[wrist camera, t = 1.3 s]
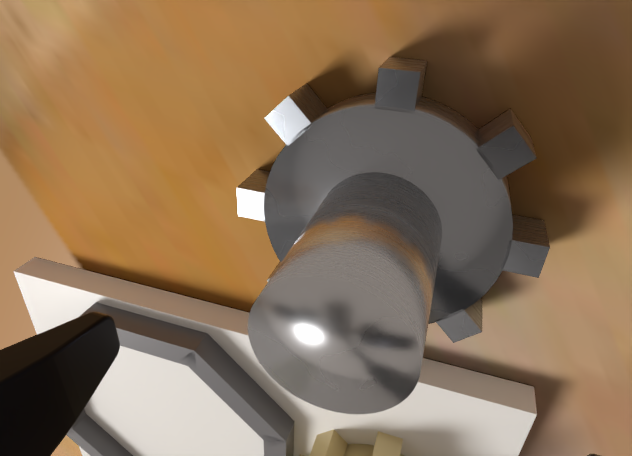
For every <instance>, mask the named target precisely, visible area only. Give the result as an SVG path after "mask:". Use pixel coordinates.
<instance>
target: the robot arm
mask: <svg viewBox="0 0 632 456" xmlns="http://www.w3.org/2000/svg"><path fill="white" fill-rule="evenodd" d="M119 349H120V341H119V337H118V333H117V329H116V325H115V321H114V319H113V318H112V317H111V316H110V315H107V314H103V313H100V312H90V313H87V314H85V315H83V316H80V317H78V318H75V319H73V320H71V321H68V322H66V323H64V324H61V325H59V326H56V327H54V328H52V329H49V330H47V331H45V332H42V333H40V334H37V335H35V336H33V337H30V338H28V339H25V340H23V341H21V342H18V343H16V344H14V345H11V346H9V347H6V348H4V349H2V350H0V456H51V454H52V453H53V452H54V450H55V449H56V448H57V446H58V445H59V444H60V442H61V441H62V440H63V438H64V437H65V436H66V434H67V433H68V432H69V430H70V429H71V428H72V426H73V425H74V423H75V422H76V421H77V419H78V418H79V416H80V414H81V413H82V411H83V410H84V408H85V407H86V405H87V404H88V402H89V400H90V399H91V397H92V395H93V394H94V392H95V391H96V389H97V387H98V386H99V384H100V383H101V381H102V379H103V378H104V376H105V374H106V373H107V371H108V370H109V368H110V366H111V365H112V363H113V362H114V360H115V358H116V357H117V355H118V352H119ZM587 456H600V455H596V454H589V455H587Z"/></svg>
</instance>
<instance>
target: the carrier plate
mask: <svg viewBox="0 0 632 456" xmlns="http://www.w3.org/2000/svg"><path fill="white" fill-rule="evenodd" d="M14 274H15V277H16V279H17V282H18V285H19V287H20V290H21V292H22V295H23V298H24V301H25V303H26V306H27V309H28V311H29V314H30V316H31V319H32V322H33V325H34V327H35V330H36V333H37V334H40V333H42V332H45V331H47V330H49V329H52V328H54V327H56V326H59V325H61V324H64V323H66V322H68V321H71V320H73V319H75V318H78V317H80V316H83V315H85V314H87V313H90V312H100V313H103V314H107V315H110V316H111V317H112V318H113V319H114V321H115V325H116V329H117V333H118V337H119V341H120V349H119V352H118V355H117V357H116V358H115V360H114V362H113V363H112V365H111V366H110V368H109V370H108V371H107V373H106V374H105V376H104V378H103V379H102V381H101V383H100V384H99V386H98V387H97V389H96V391H95V392H94V394H93V395H92V397H91V399H90V400H89V402H88V404H87V405H86V407H85V408H84V410H83V411H82V413H81V414H80V416H79V418H78V419H77V421H76V422H75V423H74V425H73V426H72V428H71V429H70V430H69V432H68V433H67V434H66V435H67V436H68V437H69V438H71V439H72V440H73V441H74V442H75V443H76V444H77V445H79V448H80V450H81V453H82V456H518V455H519V453H520V451H521V449H522V446H523V444H524V442H525V440H526V438H527V435H528V433H529V431H530V429H531V427H532V424H533V422H534V420H535V418H536V416H537V410H536V401H535V392H534V387H533V386H529V385H525V384H521V383H517V382H514V381H510V380H506V379H502V378H498V377H494V376H491V375H487V374H483V373H479V372H475V371H471V370H467V369H464V368H460V367H456V366H452V365H448V364H444V363H441V362H437V361H433V360H429V359H425V358H423V360H422V366H421V372H420V377H419V380H418V383H417V385H416V387H415V388H414V390H413V392H412V393H411V394H410V395H409V396H408V397H407V398H406V399H405V400H404V401H402V402H401V403H400V404H398V405H396V406H394V407H392V408H390V409H387V410H385V411H381V412H377V413H371V414H345V413H339V412H334V411H330V410H326V409H323V408H320V407H317V406H314V405H312V404H310V403H308V402H305V401H303V400H302V399H300V398H298V397H296V396H294V395H293V394H291V393H290V392H288V391H287V390H286V389H284V388H283V387H282V386H280V385H279V384H278V383H277V382H276V381H275V380H274V379H273V378H272V377H271V376H270V375H269V374H268V373H267V372H266V371H265V369H264V368H263V367H262V365H261V364H260V363H259V361H258V359H257V357H256V356H255V354H254V352H253V349H252V347H251V344H250V340H249V336H248V318H249V312H245V311H241V310H237V309H233V308H229V307H226V306H222V305H218V304H214V303H210V302H206V301H203V300H199V299H195V298H191V297H187V296H183V295H180V294H176V293H172V292H168V291H164V290H160V289H156V288H153V287H149V286H145V285H141V284H137V283H133V282H130V281H126V280H122V279H118V278H114V277H110V276H107V275H103V274H99V273H95V272H91V271H87V270H84V269H80V268H76V267H72V266H68V265H64V264H60V263H57V262H53V261H48V260H45V259H41V258H37V257H34V258H33V259H31V260H30V261H28V262H27V263H25V264H24V265H22V266H21V267H19V268H18V269H16V270H15V271H14Z"/></svg>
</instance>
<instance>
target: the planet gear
mask: <svg viewBox="0 0 632 456" xmlns="http://www.w3.org/2000/svg"><path fill="white" fill-rule="evenodd" d="M426 65H427V61H425V60H416V59H406V58H396V57H389V58H388V59H387V60H386V61H385V62H384V63H383V64H382V65H381V66H380V67H379V72H378V81H377V90H376V93H368V94H364V95H359V96H354V97H352V98H349V99H346V100H343V101H341V102H338V103H337V104H335V105H333V106H331V107H329V108H326V107H325V105H324V104H323V103H322V102H321V100H320V99H319V98H318V97H317V95H316V94H315V93H314V92H313V90H312V89H311V88H310V87H309V85H308V84H307V83H306V84H305V85H303V86H302V87H300V88H299V89H297V90H296V91H295V92H293V93H292V94H290V95H289V96H288V97H287V98H285V99H284V100H283V101H282V102H281V103H280V104H279V105H278V106H277V107H276V108H275V109H274V110H273V111H271V112H270V113H269V114H268V115H267V116H266V117H265V120H266V121H267V122H268V123H269V124H270V126H271V127H272V128H273V129H274V130H275V132H276V133H277V134H278V135H279V136H280V137H281V139H282V140H283V141H284V142H285V143H286V146H285V147H284V148H283V150H282V151H281V152H280V154H279V155H278V157H277V159H276V160H275V162H274V164H273V166H272V168H271V171H270V172H268V171H263V170H256V171H254V172H253V173H252V174H251V175H250V176H249V177H248V178H247V179H246V180H245V181H243V182H242V183H241V184H240V185H239V186H238V187H237V205H238V216H241V217H246V218H251V219H256V220H260V221H265V223H266V228H267V232H268V236H269V238H270V241H271V244H272V247H273V249H274V251H275V253H276V255H277V257H278V259H279V260H280V262H279V263H278V265H277V266H276V268H275V269H274V271H273V272H272V274H271V275H270V277H269V278H268V280H267V281H268V283H267V285H266V286H265V288H264V289H263V291H262V292H261V294H260V295H259V296H258V298H257V299H256V301H255V303H254V304H253V306H252V308H251V311H250V313H249V318H248V336H249V340H250V344H251V347H252V349H253V352H254V354H255V356H256V357H257V359H258V361H259V363H260V364H261V365H262V367H263V368H264V369H265V371H266V372H267V373H268V374H269V375H270V376H271V377H272V378H273V379H274V380H275V381H276V382H277V383H278V384H279V385H280V386H282V387H283V388H284V389H286V390H287V391H288V392H290V393H291V394H293V395H294V396H296V397H298V398H300V399H302V400H303V401H305V402H308V403H310V404H312V405H314V406H317V407H320V408H323V409H326V410H330V411H334V412H339V413H345V414H371V413H377V412H381V411H385V410H387V409H390V408H392V407H394V406H396V405H398V404H400V403H401V402H402V401H404V400H405V399H406V398H407V397H408V396H409V395H410V394H411V393H412V392H413V390H414V388H415V387H416V385H417V383H418V380H419V377H420V372H421V366H422V360H423V353H424V347H425V341H426V335H427V328H428V324H430V323H434V322H436V323H437V324H438V325H439V326H440V327H441V328H442V330H443V331H444V332H445V333H446V334H447V336H448V337H449V338H450V339H451V340H452V341H453V343H454V342H457V341H460V340H462V339H465V338H467V337H470V336H473V335H475V334H478V333H480V332H482V300H481V299H480V298H481V297H482V296H483V295H485V294H486V293H487V291H488V290H489V289H490V288H491V287H492V285H493V284H494V283H495V282H496V280H497V279H498V277H499V275H500V274H501V272H502V270H503V271H508V272H513V273H518V274H523V275H527V276H532V277H537V278H539V275H540V273H541V270H542V267H543V265H544V262H545V259H546V256H547V254H548V251H549V248H550V245H549V241H548V236H547V232H546V227H545V223H544V220H539V219H534V218H528V217H522V216H517V215H512V211H511V201H510V191H509V184H508V180H507V176H506V175H508V174H510V173H512V172H513V171H515V170H517V169H519V168H520V167H522V166H524V165H526V164H527V163H529V162H531V161H533V160H534V159H536V154H535V150H534V146H533V142H532V138H531V137H530V135H529V134H528V132H527V131H526V130H525V128H524V127H523V125H522V124H521V123H520V121H519V120H518V118H517V117H516V115H515V114H514V113H513V111H512V110H511V108H510V109H509V110H507V111H506V112H504V113H503V114H501V115H500V116H498V117H497V118H495V119H494V120H492V121H491V122H489V123H487V124H486V125H484V126H483V127H481V128H480V129H478V128H477V127H476V126H474V125H473V124H472V123H471V122H470V121H469V120H468V119H467V118H465V117H464V116H462V115H461V114H459V113H458V112H456V111H455V110H453V109H451V108H449V107H447V106H445V105H443V104H441V103H439V102H437V101H434V100H431V99H428V98H425V97H422V90H423V84H424V78H425V71H426Z"/></svg>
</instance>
